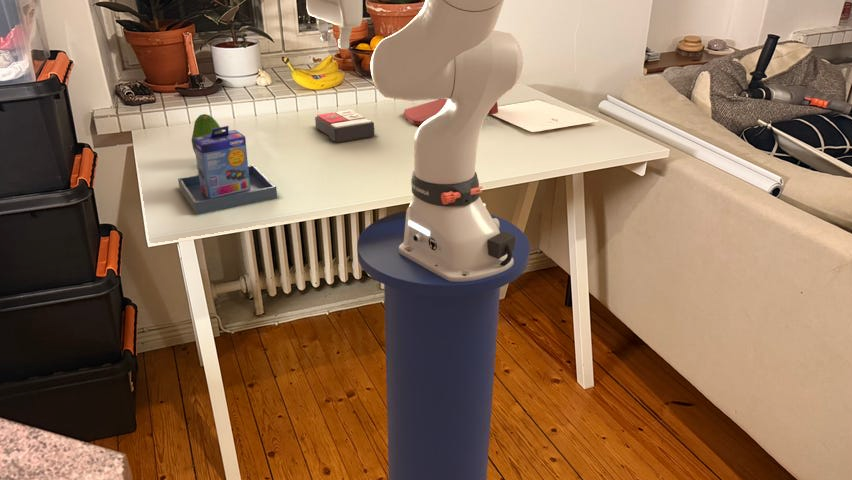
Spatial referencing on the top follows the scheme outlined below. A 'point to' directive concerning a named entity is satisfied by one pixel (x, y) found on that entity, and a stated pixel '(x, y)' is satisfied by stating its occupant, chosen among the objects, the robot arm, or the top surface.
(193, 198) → the tray
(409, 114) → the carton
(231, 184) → the ink cartridge box
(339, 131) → the dark grey package
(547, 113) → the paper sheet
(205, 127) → the avocado
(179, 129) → the top surface
